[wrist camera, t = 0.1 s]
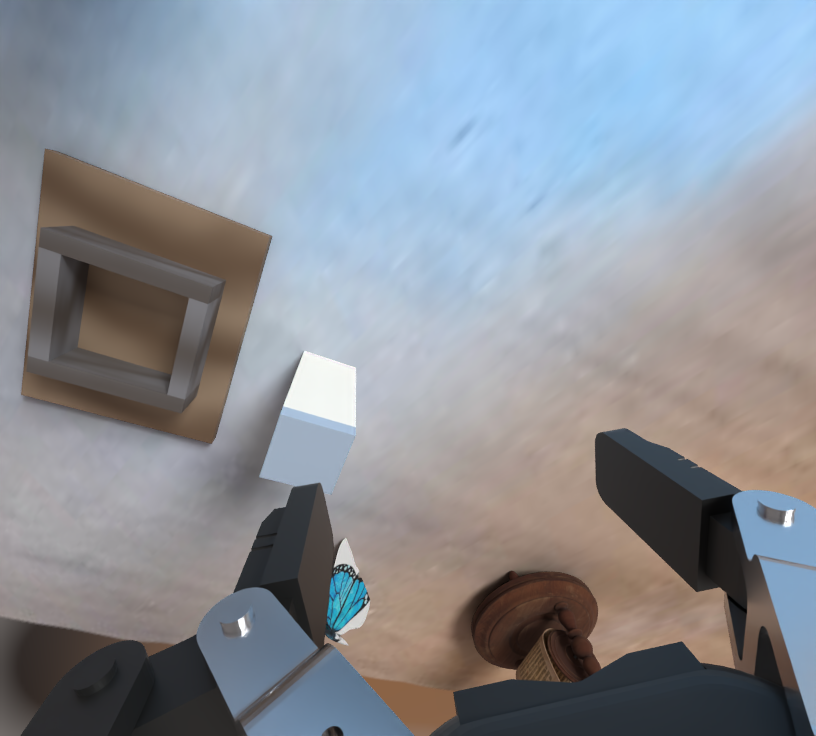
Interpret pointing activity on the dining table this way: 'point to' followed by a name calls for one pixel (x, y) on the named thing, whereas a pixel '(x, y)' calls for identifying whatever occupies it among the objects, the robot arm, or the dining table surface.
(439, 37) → the dining table surface
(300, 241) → the dining table surface
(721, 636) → the dining table surface
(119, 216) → the cradle
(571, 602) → the scroll
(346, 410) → the block
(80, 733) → the robot arm
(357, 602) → the decorative butterfly
